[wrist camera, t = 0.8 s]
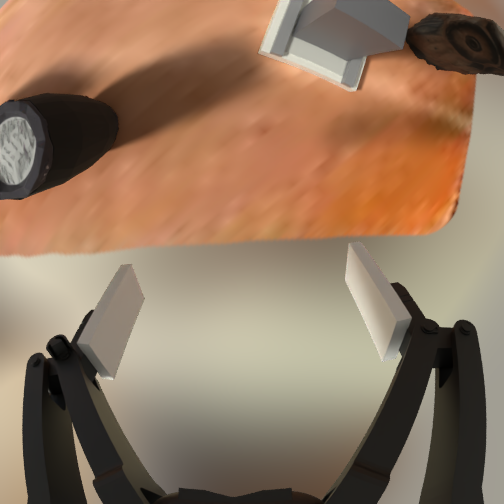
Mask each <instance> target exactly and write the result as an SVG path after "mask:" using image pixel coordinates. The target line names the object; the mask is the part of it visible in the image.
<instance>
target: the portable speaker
mask: <svg viewBox="0 0 504 504" xmlns="http://www.w3.org/2000/svg"><path fill="white" fill-rule="evenodd" d="M118 129H119V127H118V116H117V115H116V113H115V112H114V111H113V109H112V108H111V107H110V106H108V105H106V104H105V103H103V102H100V101H97V100H94V99H91V98H88V97H87V96H81V95H68V94H50V93H45V94H40V95H36V96H32V97H28V98H25V99H21V100H18V101H14V100H9V101H7V102H5V103H3V104H2V105H1V106H0V200H4V199H14V200H22V199H24V198H26V197H29V196H31V195H34V194H36V193H39V192H42V191H44V190H47V189H50V188H52V187H55V186H58V185H61V184H63V183H65V182H66V181H68V180H70V179H71V178H73V177H75V176H76V175H78V174H79V173H81V172H83V171H85V170H86V169H88V168H89V167H91V166H92V165H93V164H94V163H95V162H97V161H98V160H99V159H100V158H101V157H102V156H103V155H104V154H105V153H106V152H107V151H108V150H109V149H110V148H111V146H112V144H113V142H114V141H115V139H116V135H117V132H118Z"/></svg>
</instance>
